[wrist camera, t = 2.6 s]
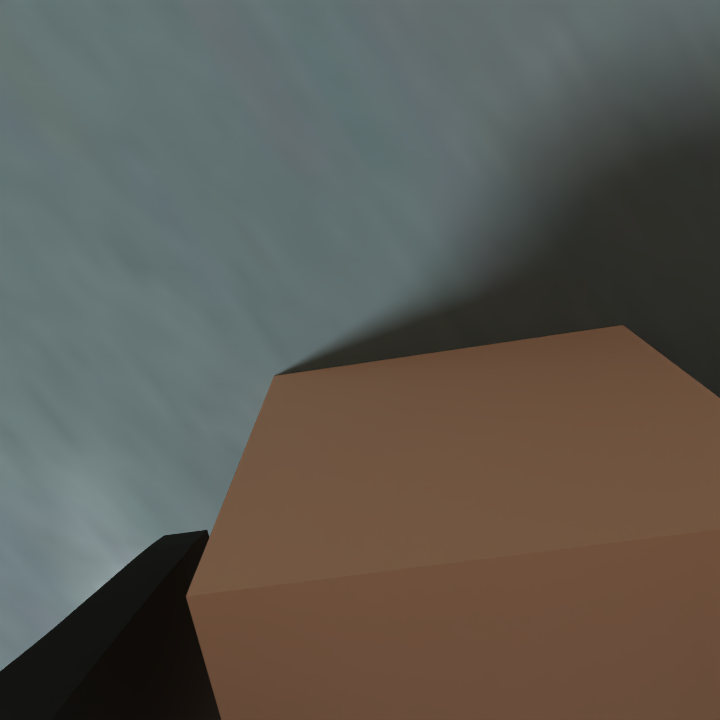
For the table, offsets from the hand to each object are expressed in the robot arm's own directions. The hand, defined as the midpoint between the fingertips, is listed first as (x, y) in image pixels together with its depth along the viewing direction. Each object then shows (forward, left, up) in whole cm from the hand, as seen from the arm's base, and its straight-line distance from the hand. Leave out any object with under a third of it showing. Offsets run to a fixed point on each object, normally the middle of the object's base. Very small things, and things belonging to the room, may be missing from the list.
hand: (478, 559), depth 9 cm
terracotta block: (0, 0, -2) cm, 2 cm away
